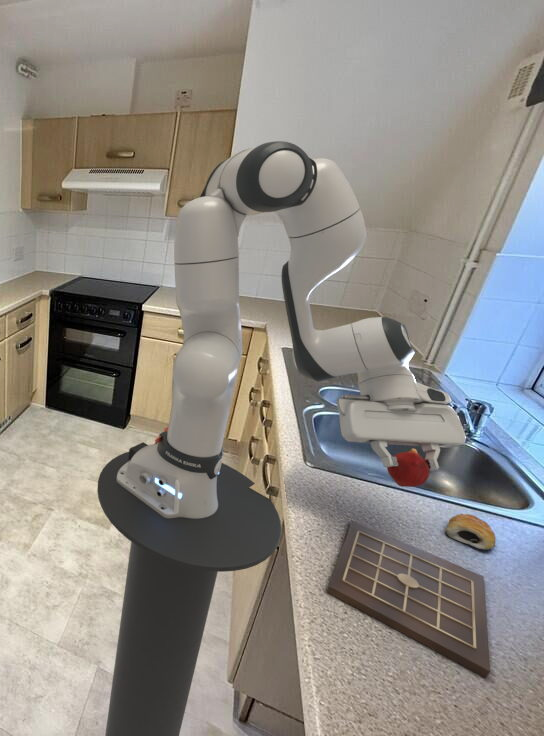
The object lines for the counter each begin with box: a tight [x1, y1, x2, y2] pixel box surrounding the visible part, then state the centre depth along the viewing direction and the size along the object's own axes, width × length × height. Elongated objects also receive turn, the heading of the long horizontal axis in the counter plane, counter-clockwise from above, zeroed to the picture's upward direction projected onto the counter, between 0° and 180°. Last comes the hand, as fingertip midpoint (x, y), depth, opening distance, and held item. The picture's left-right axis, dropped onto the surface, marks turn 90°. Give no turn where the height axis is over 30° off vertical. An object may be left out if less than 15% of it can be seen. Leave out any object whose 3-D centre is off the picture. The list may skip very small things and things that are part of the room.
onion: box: [386, 448, 431, 488], centre depth 76 cm, size 6×6×8 cm
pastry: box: [445, 513, 497, 551], centre depth 83 cm, size 9×7×4 cm
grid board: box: [326, 519, 491, 679], centre depth 71 cm, size 19×22×2 cm
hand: (411, 468), depth 76 cm, fingers closed on onion, 5 cm apart
